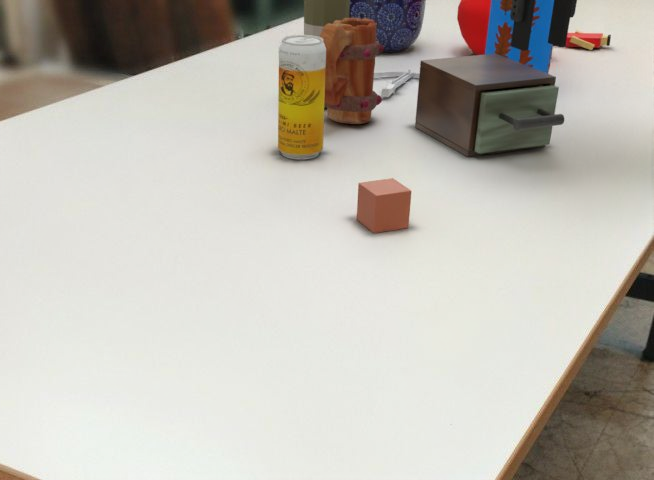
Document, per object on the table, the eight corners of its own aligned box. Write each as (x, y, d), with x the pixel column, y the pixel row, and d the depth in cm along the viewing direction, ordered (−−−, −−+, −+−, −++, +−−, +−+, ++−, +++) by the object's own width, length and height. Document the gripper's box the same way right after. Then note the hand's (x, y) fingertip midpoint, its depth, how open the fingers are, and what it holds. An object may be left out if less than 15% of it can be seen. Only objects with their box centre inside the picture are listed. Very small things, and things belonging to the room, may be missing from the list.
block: (408, 227, 105) (411, 190, 103) (373, 233, 104) (376, 195, 101) (390, 214, 109) (393, 177, 106) (356, 219, 107) (358, 182, 105)
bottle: (298, 109, 145) (303, -107, 130) (303, 97, 151) (308, -111, 135) (343, 111, 144) (353, -106, 129) (347, 99, 150) (357, -110, 135)
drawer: (572, 155, 125) (582, 96, 121) (499, 165, 121) (507, 104, 117) (495, 117, 139) (502, 64, 135) (428, 125, 135) (433, 70, 131)
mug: (340, 109, 146) (344, 7, 138) (387, 117, 142) (395, 13, 134) (293, 133, 135) (295, 24, 127) (343, 142, 131) (348, 31, 123)
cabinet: (545, 146, 131) (556, 76, 125) (467, 157, 126) (476, 85, 121) (487, 118, 142) (495, 53, 137) (414, 127, 138) (420, 60, 133)
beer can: (269, 155, 126) (269, 40, 118) (293, 143, 131) (295, 32, 123) (307, 163, 123) (310, 46, 116) (330, 152, 128) (335, 38, 120)
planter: (433, 43, 186) (441, -38, 178) (403, 60, 173) (410, -26, 165) (357, 34, 192) (361, -44, 184) (322, 50, 180) (325, -33, 172)
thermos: (508, 74, 165) (529, -82, 152) (559, 87, 158) (585, -76, 145) (468, 84, 159) (486, -78, 146) (518, 98, 152) (542, -72, 139)
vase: (500, 40, 189) (514, -64, 179) (572, 58, 176) (590, -52, 166) (433, 51, 180) (443, -57, 170) (503, 71, 167) (518, -45, 157)
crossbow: (374, 77, 166) (375, 65, 165) (444, 84, 162) (445, 72, 161) (347, 93, 152) (348, 80, 151) (423, 102, 148) (424, 88, 148)
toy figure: (545, 36, 184) (608, 37, 179) (550, 29, 189) (612, 30, 185) (543, 49, 185) (607, 51, 181) (549, 42, 190) (610, 43, 186)
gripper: (611, -168, 112) (577, 35, 124) (483, -167, 106) (461, 45, 118) (655, -166, 106) (614, 47, 118) (522, -165, 100) (494, 58, 112)
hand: (538, 46), depth 118 cm, fingers open, 5 cm apart
